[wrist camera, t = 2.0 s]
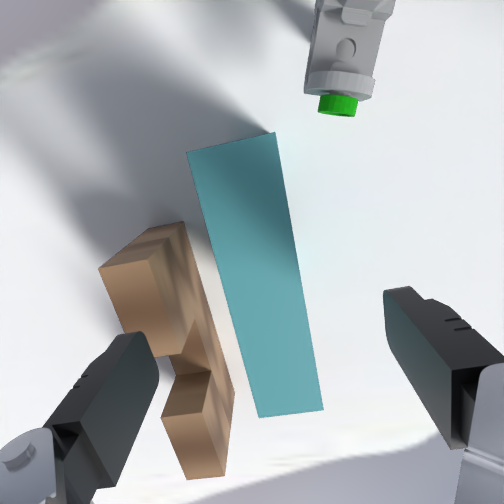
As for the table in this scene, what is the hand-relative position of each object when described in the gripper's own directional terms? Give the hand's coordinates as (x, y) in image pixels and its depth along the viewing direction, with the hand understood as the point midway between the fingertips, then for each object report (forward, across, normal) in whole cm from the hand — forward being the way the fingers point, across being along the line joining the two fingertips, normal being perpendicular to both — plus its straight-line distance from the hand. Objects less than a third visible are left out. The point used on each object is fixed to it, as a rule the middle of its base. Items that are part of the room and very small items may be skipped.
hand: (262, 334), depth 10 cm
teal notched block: (+15, 0, 0) cm, 15 cm away
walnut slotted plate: (+15, +8, +8) cm, 19 cm away
